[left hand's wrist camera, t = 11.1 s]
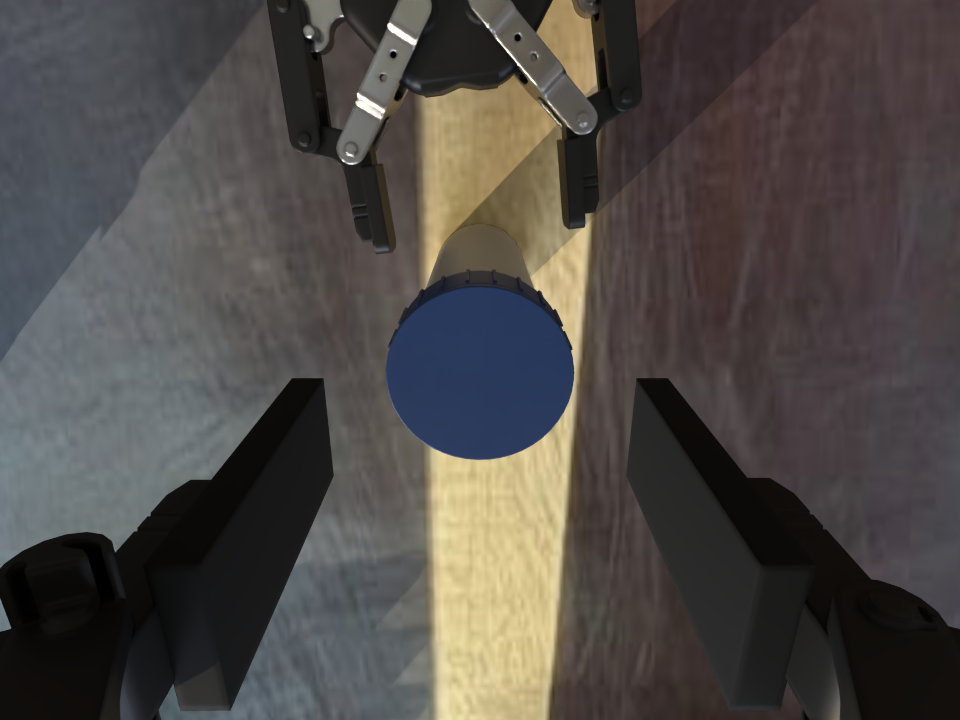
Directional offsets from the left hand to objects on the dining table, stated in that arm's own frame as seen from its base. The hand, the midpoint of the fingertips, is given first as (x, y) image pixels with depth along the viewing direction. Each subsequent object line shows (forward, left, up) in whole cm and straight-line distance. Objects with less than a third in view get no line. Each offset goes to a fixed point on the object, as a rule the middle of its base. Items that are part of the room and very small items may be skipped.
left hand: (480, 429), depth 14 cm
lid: (0, 0, -4) cm, 4 cm away
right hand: (+2, -2, -13) cm, 14 cm away
